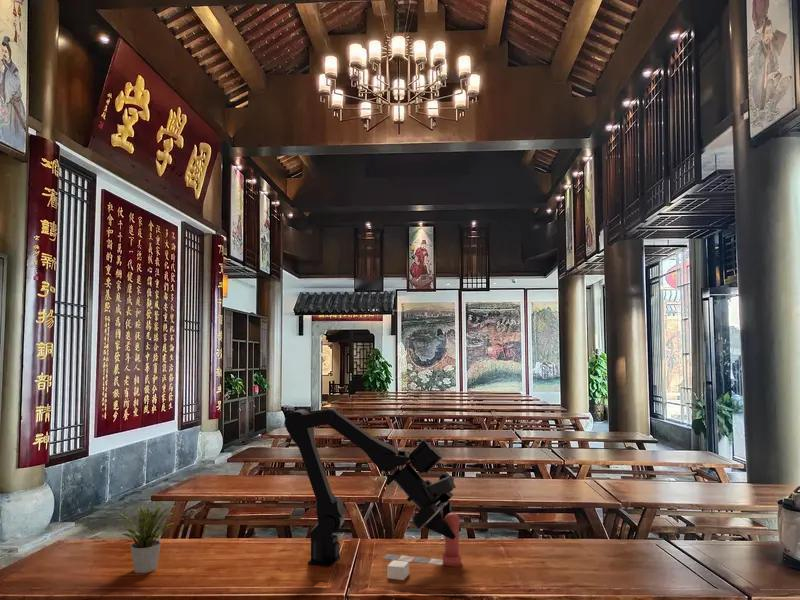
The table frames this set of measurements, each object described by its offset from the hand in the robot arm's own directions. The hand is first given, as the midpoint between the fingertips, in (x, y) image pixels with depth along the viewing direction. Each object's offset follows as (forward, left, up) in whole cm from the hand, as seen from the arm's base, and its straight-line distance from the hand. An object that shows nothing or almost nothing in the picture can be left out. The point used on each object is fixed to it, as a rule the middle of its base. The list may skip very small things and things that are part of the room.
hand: (457, 534), depth 154 cm
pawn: (-2, 0, -7) cm, 7 cm away
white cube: (-11, -12, -8) cm, 18 cm away
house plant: (-73, -23, -8) cm, 77 cm away
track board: (-9, 0, -8) cm, 12 cm away
